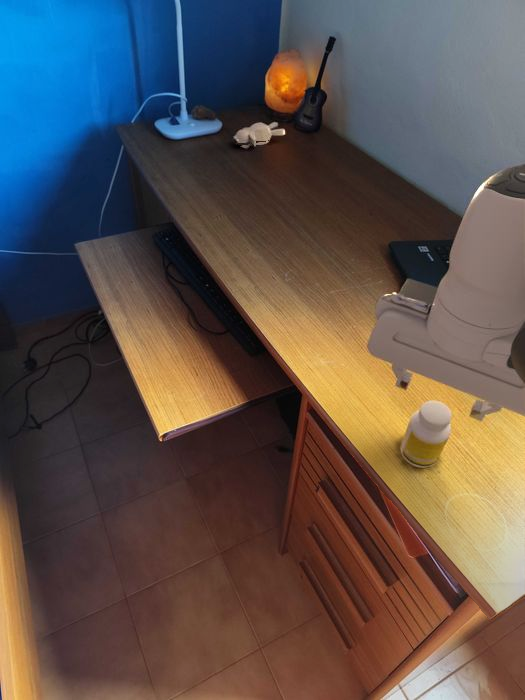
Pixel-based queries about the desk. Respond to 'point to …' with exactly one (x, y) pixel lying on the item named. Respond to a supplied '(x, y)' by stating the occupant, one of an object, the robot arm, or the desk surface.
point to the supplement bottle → (426, 434)
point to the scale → (419, 291)
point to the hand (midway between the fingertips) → (438, 399)
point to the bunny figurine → (257, 134)
